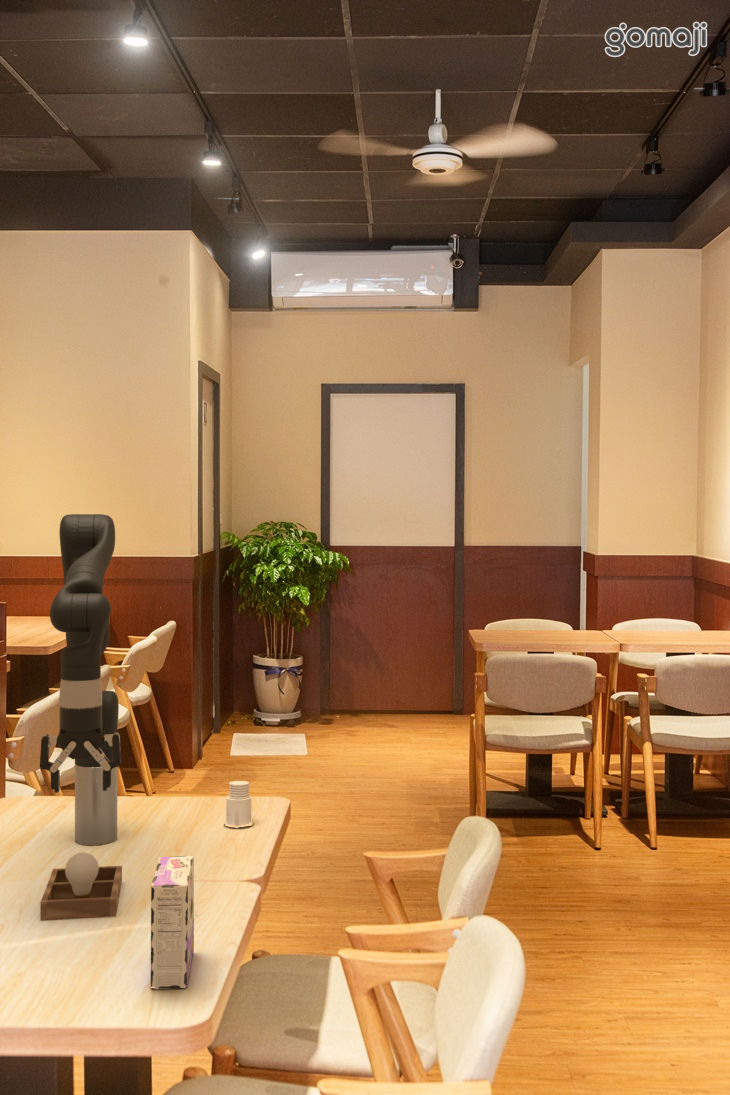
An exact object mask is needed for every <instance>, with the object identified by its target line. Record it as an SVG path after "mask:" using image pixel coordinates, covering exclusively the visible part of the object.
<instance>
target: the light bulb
mask: <svg viewBox="0 0 730 1095" xmlns="http://www.w3.org/2000/svg"><path fill="white" fill-rule="evenodd" d="M99 867H100V866H99V863H98V860H97V859H96V857H95V856H94V855H92V854H91V853H88V852H86V851H85V852H77V853H75V854H73V855H71V857H70V858H69V859H68V861H67V862H66V864H65V867H64V868H65V874H66V877H67V879H68V881H69V882H70V884H71V886H72V889H73V892H74V898H75V899H80V898H89V897H90V896H89V895H90V891H91V888H92V884H93V882H94V880H95V878H96V877H97V874H98V870H99Z"/></svg>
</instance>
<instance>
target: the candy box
mask: <svg viewBox="0 0 730 1095" xmlns="http://www.w3.org/2000/svg"><path fill="white" fill-rule="evenodd" d="M194 860H195V859H194V855H179V856H178V855H177V856H160V857H159V859H158V862H157V866H156V870H155V873H154V875H153V876H154V877H153V879H152V882H151V886H150V895H151V896H150V988H151V987H155V988H186V987H187V988H188V986H189V978H190V973H191V970H192V969H191V966H192V962H193V956H194V950H195V945H194V944H195V935H194V934H195V901H194V900H195V898H194V897H195V894H194V893H195V882H194V881H195V876H194V874H195V868H194V866H195V865H194V864H195V863H194V862H195V861H194ZM187 988H186V989H187Z"/></svg>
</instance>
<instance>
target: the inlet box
mask: <svg viewBox="0 0 730 1095" xmlns="http://www.w3.org/2000/svg"><path fill="white" fill-rule="evenodd" d="M65 868H66V867H64V868H62V867H61V868H52V870H51V873H50V876H49V879H48V882H47V884H46V886H45V890H44V891H43V892H44V893H43V895H42V897H41V900H40V903H39V904H40V905H39V906H40V909H39V910H40V917H39V918H40V921H60V920H61V921H62V920H76V919H96V918H97V919H98V918H99V919H100V918H112V917H113V918H116V916H117V912H118V906H119V901H120V895H121V889H122V884H123V866H122V865H110V866H109V865H108V866H107V865H106V866H99V870H98V874H97V877H96V878H95V880H94V882H93V884H92V888H91V891H90V895H89V896H90V897H89V898H80V899H75V898H74V892H73V889H72V886H71V884H70V882H68V879H67V877H66V874H65Z"/></svg>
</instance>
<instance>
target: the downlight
mask: <svg viewBox="0 0 730 1095" xmlns="http://www.w3.org/2000/svg"><path fill="white" fill-rule="evenodd" d="M228 785H229V786H228V795H227V796H226V800H225V801H226V802H225V804H226V807H225V808H226V809H225V810H226V812H225V813H226V817H225V819H226V821H225V822H226V823H227V824H228V825H233V826H241V825H246V824H249V823H250V822H251V821H252V796H251V795H250V782H249V781H246V780H234V781H230V782H229V784H228Z"/></svg>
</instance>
